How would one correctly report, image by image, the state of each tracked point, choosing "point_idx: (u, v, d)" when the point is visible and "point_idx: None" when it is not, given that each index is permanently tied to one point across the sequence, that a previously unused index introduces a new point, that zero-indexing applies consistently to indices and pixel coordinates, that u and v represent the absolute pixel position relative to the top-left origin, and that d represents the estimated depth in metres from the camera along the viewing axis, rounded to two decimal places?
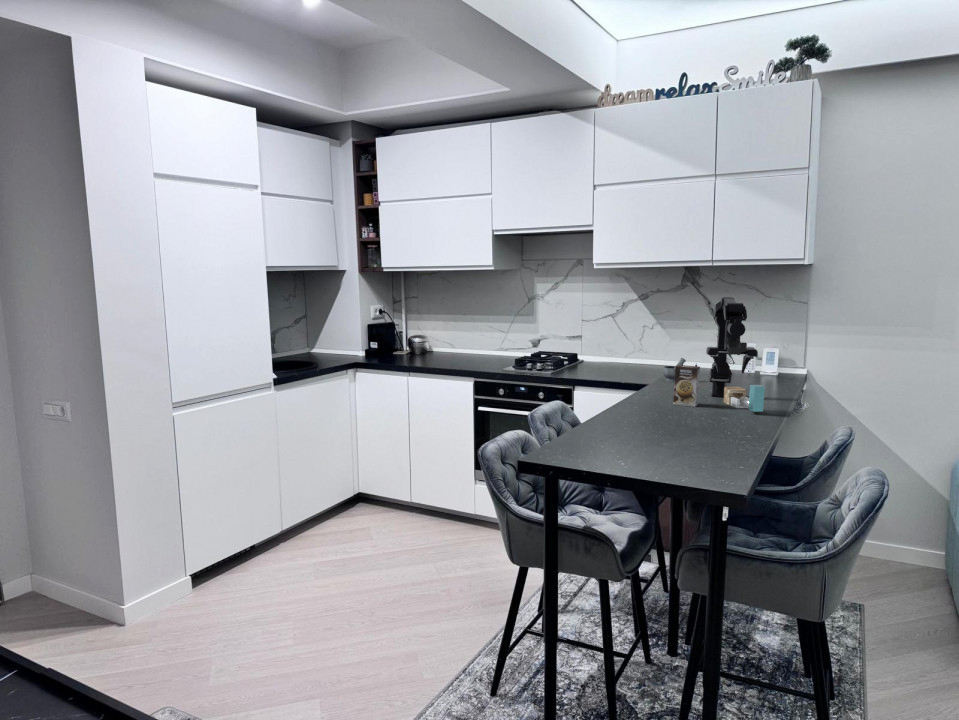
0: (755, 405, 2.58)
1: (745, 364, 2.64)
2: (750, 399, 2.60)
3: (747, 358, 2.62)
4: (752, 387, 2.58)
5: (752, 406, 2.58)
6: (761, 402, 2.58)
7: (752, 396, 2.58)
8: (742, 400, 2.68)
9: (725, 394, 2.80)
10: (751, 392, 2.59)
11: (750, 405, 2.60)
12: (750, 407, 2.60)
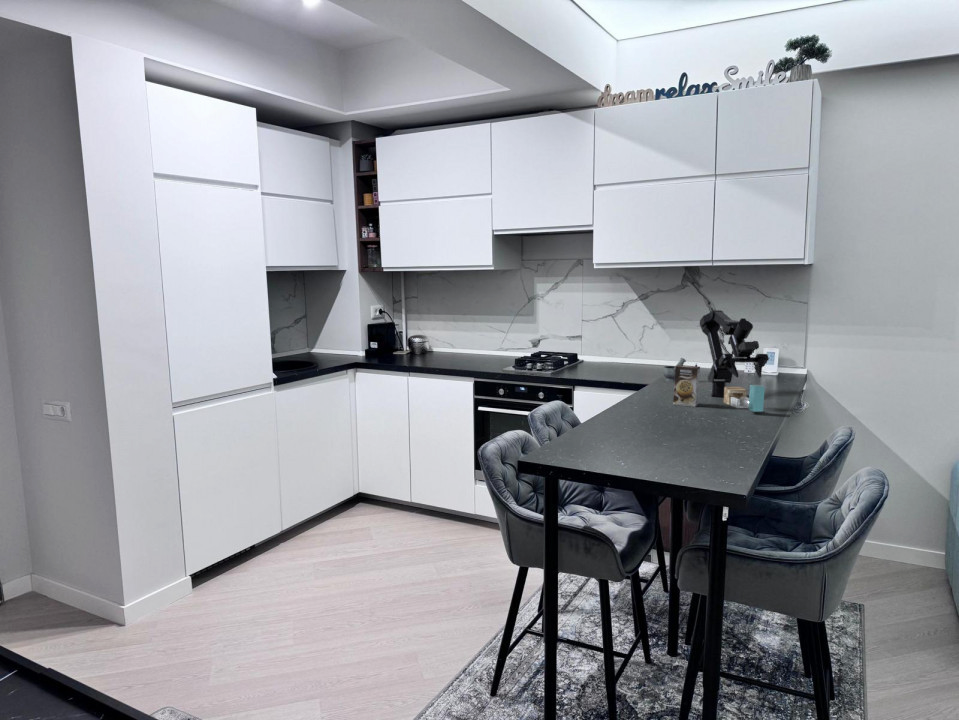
0: (755, 405, 2.58)
1: (760, 367, 2.67)
2: (750, 399, 2.60)
3: (760, 360, 2.68)
4: (752, 387, 2.58)
5: (752, 406, 2.58)
6: (761, 402, 2.58)
7: (752, 396, 2.58)
8: (742, 400, 2.68)
9: (725, 394, 2.80)
10: (751, 392, 2.59)
11: (750, 405, 2.60)
12: (750, 407, 2.60)
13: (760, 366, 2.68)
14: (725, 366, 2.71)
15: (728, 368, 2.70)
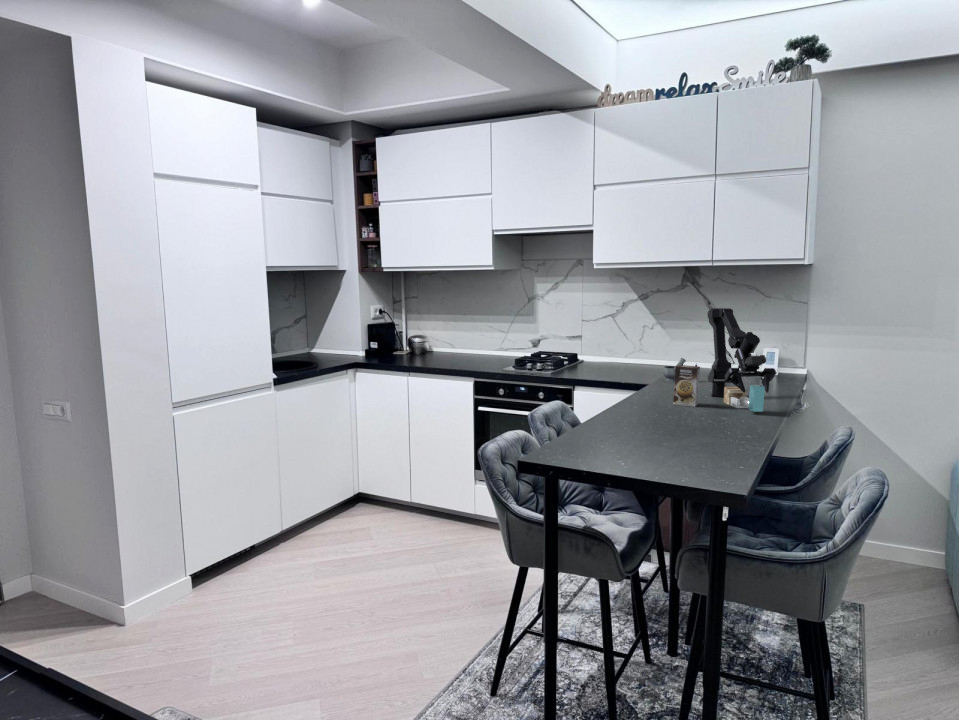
0: (755, 405, 2.58)
1: (767, 382, 2.61)
2: (750, 399, 2.60)
3: (768, 374, 2.62)
4: (752, 387, 2.58)
5: (752, 406, 2.58)
6: (761, 402, 2.58)
7: (752, 396, 2.58)
8: (742, 400, 2.68)
9: (725, 394, 2.80)
10: (751, 392, 2.59)
11: (750, 405, 2.60)
12: (750, 407, 2.60)
13: (767, 381, 2.61)
14: (731, 381, 2.65)
15: (735, 383, 2.64)
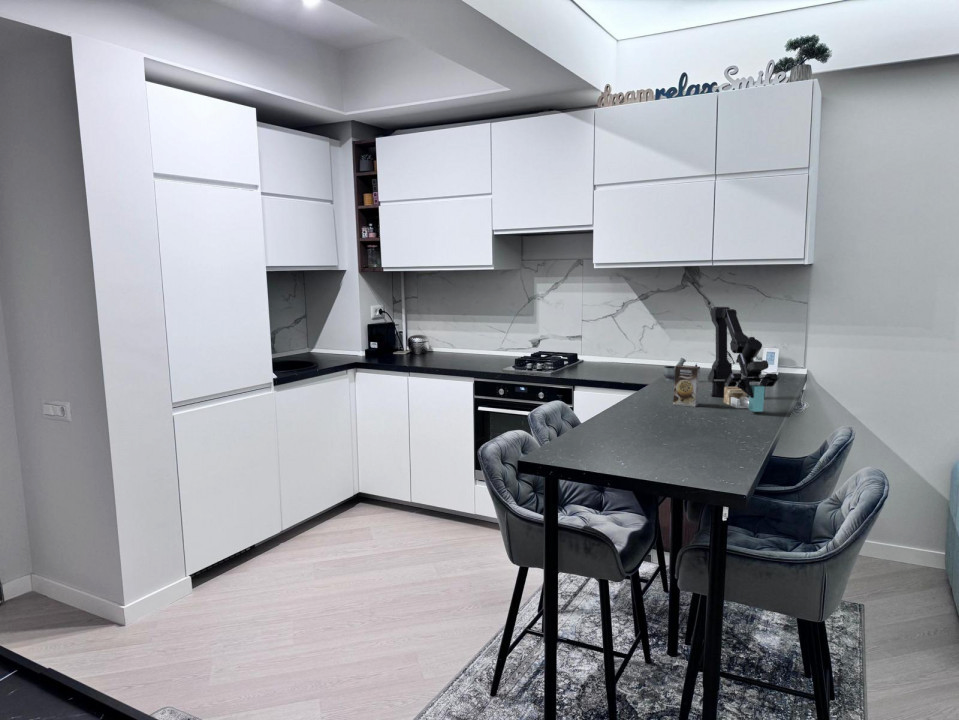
0: (755, 405, 2.58)
1: None
2: (750, 399, 2.60)
3: (764, 380, 2.60)
4: (752, 387, 2.58)
5: (752, 406, 2.58)
6: (761, 402, 2.58)
7: None
8: (742, 400, 2.68)
9: (725, 394, 2.80)
10: None
11: (750, 405, 2.60)
12: (750, 407, 2.60)
13: None
14: (739, 386, 2.63)
15: (742, 388, 2.62)
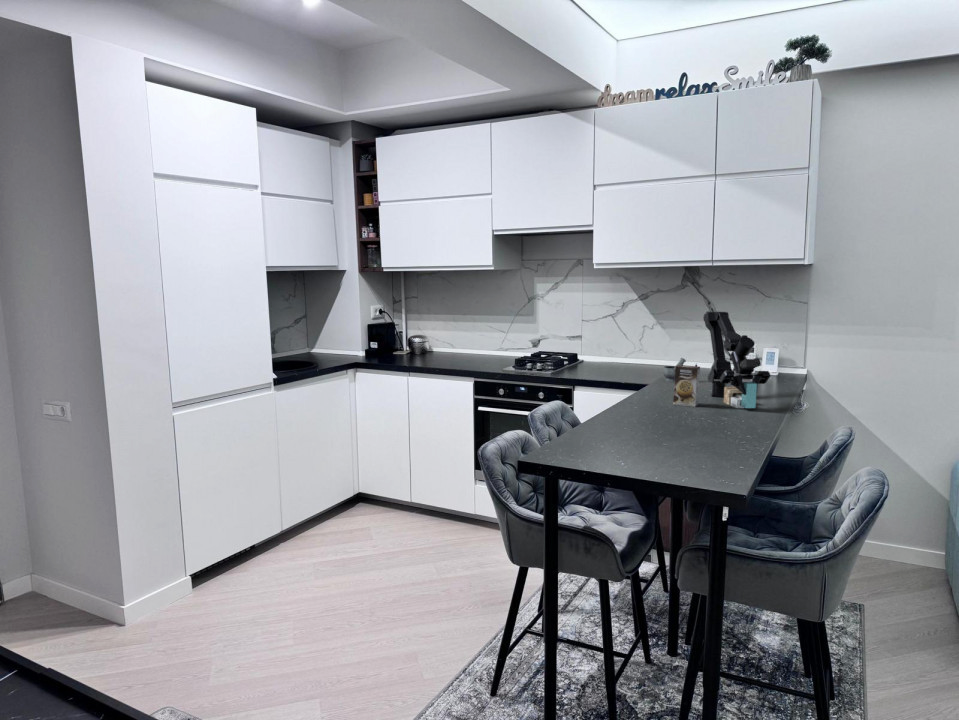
0: (747, 402, 2.64)
1: None
2: (743, 396, 2.67)
3: (756, 377, 2.66)
4: (745, 384, 2.65)
5: (745, 403, 2.65)
6: (753, 399, 2.64)
7: None
8: (735, 397, 2.75)
9: (725, 394, 2.80)
10: None
11: (742, 401, 2.67)
12: (743, 404, 2.67)
13: (756, 383, 2.66)
14: (732, 383, 2.69)
15: (735, 385, 2.69)
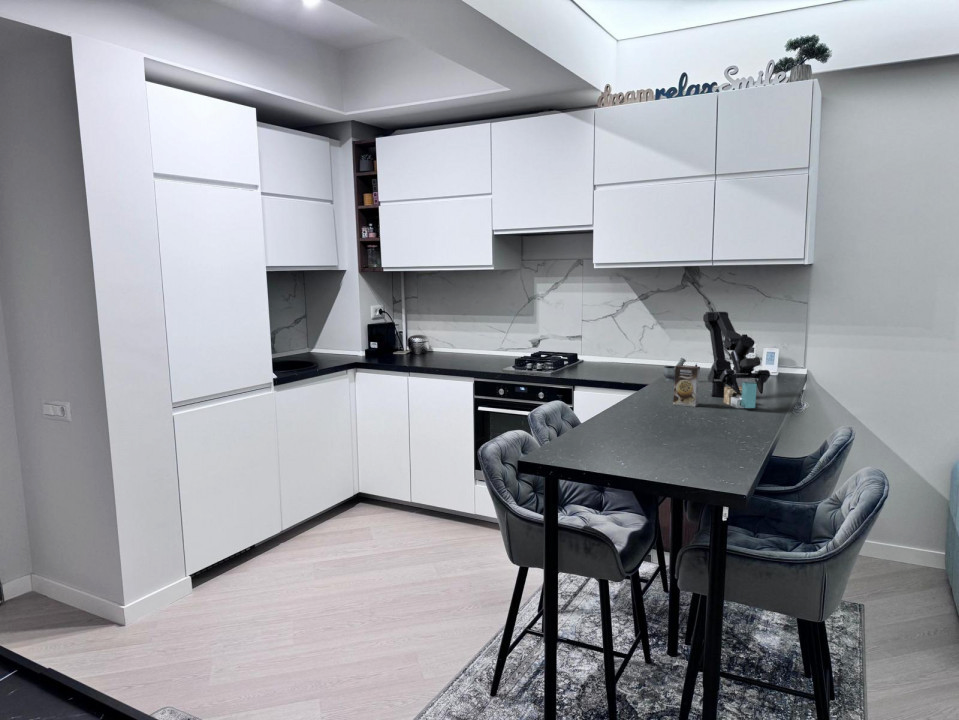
0: (747, 402, 2.64)
1: (762, 383, 2.66)
2: (742, 396, 2.67)
3: (762, 376, 2.67)
4: (744, 384, 2.65)
5: (744, 402, 2.65)
6: (753, 399, 2.64)
7: (744, 393, 2.65)
8: (735, 397, 2.75)
9: (725, 394, 2.80)
10: (743, 389, 2.66)
11: (742, 401, 2.67)
12: (742, 403, 2.67)
13: (762, 382, 2.66)
14: (726, 382, 2.69)
15: (729, 384, 2.69)
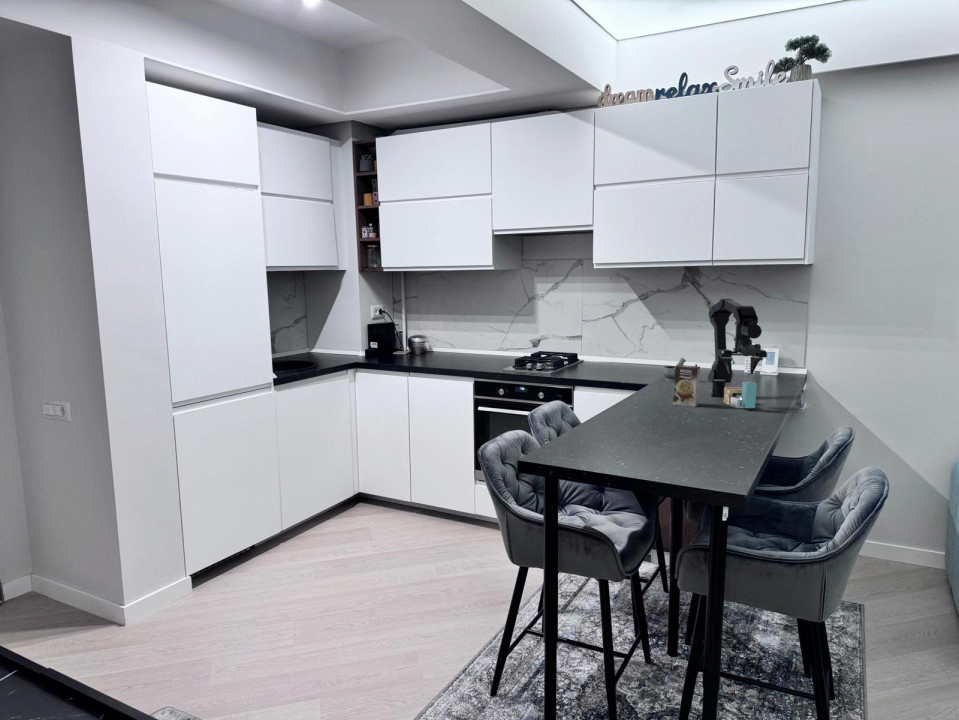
0: (747, 402, 2.64)
1: (755, 365, 2.72)
2: (742, 396, 2.67)
3: (758, 359, 2.70)
4: (744, 384, 2.65)
5: (744, 402, 2.65)
6: (753, 399, 2.64)
7: (744, 393, 2.65)
8: (735, 397, 2.75)
9: (725, 394, 2.80)
10: (743, 389, 2.66)
11: (742, 401, 2.67)
12: (742, 403, 2.67)
13: (755, 364, 2.72)
14: (722, 358, 2.74)
15: (724, 360, 2.74)
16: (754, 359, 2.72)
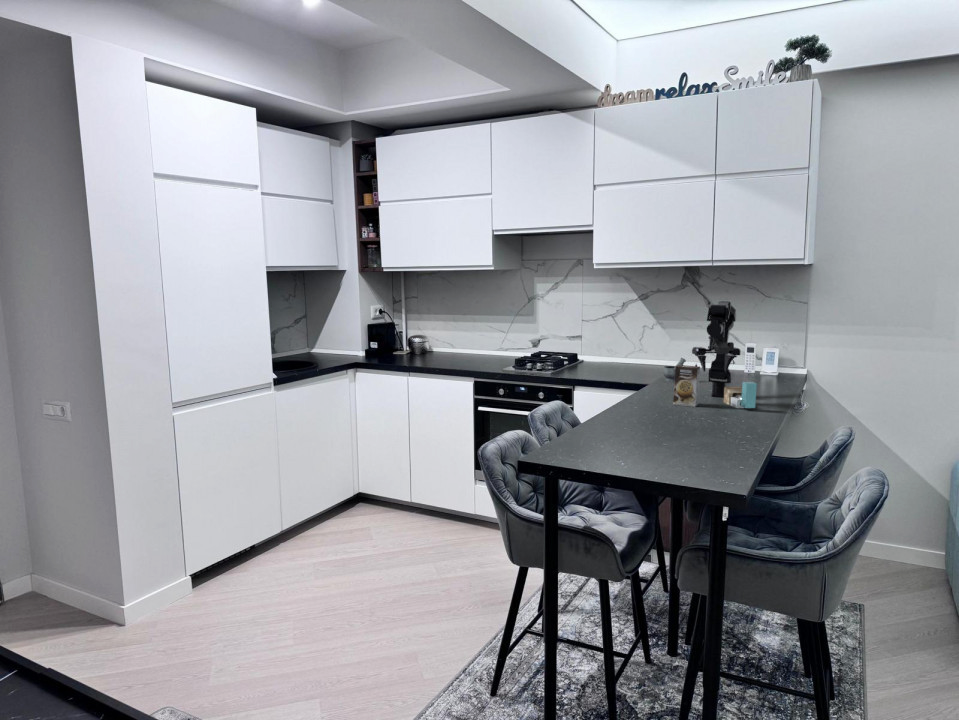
0: (747, 402, 2.64)
1: (729, 362, 2.79)
2: (742, 396, 2.67)
3: (731, 357, 2.77)
4: (744, 384, 2.65)
5: (744, 402, 2.65)
6: (753, 399, 2.64)
7: (744, 393, 2.65)
8: (735, 397, 2.75)
9: (725, 394, 2.80)
10: (743, 389, 2.66)
11: (742, 401, 2.67)
12: (742, 403, 2.67)
13: (729, 362, 2.79)
14: (697, 355, 2.81)
15: (699, 358, 2.81)
16: (728, 357, 2.79)
